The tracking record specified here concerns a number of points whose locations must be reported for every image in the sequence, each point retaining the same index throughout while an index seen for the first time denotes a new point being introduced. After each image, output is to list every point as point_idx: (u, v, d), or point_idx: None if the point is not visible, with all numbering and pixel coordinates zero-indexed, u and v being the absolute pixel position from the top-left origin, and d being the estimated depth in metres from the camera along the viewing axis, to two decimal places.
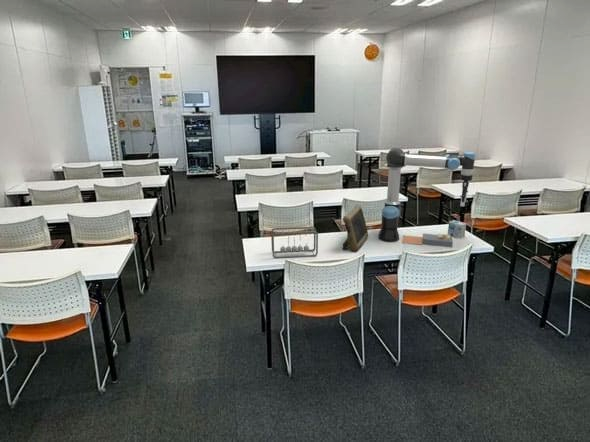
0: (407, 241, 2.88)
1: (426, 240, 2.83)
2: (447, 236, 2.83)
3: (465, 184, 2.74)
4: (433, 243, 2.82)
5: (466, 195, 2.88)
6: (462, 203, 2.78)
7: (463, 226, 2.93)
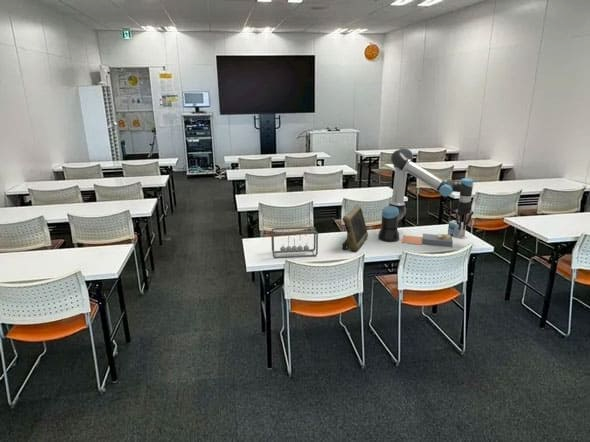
0: (407, 241, 2.88)
1: (426, 240, 2.83)
2: (447, 236, 2.83)
3: (454, 212, 2.77)
4: (433, 243, 2.82)
5: (462, 227, 2.77)
6: (460, 230, 2.80)
7: None
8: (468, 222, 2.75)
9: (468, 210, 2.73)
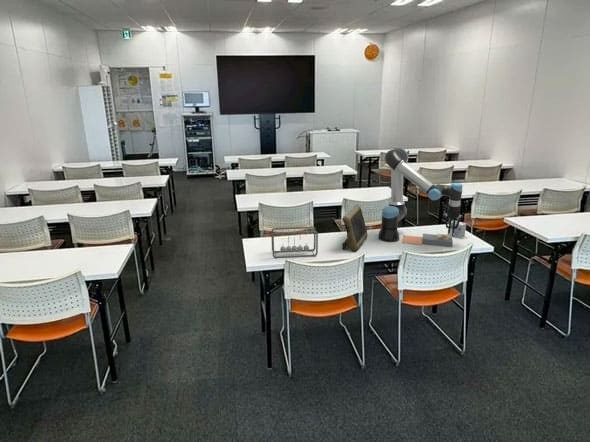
0: (407, 241, 2.88)
1: (426, 240, 2.83)
2: (447, 236, 2.83)
3: None
4: (433, 243, 2.82)
5: (451, 231, 2.81)
6: (449, 234, 2.83)
7: (463, 226, 2.93)
8: (457, 226, 2.78)
9: (457, 214, 2.76)
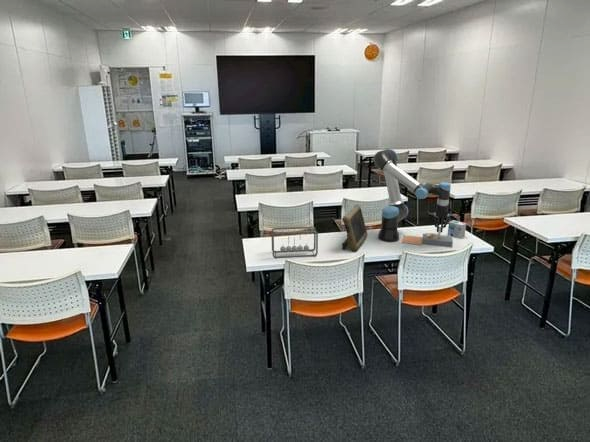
0: (407, 241, 2.88)
1: (426, 240, 2.83)
2: (435, 235, 2.85)
3: (432, 215, 2.82)
4: (433, 243, 2.82)
5: (439, 230, 2.83)
6: (438, 233, 2.85)
7: (463, 226, 2.93)
8: (445, 225, 2.80)
9: (446, 213, 2.78)
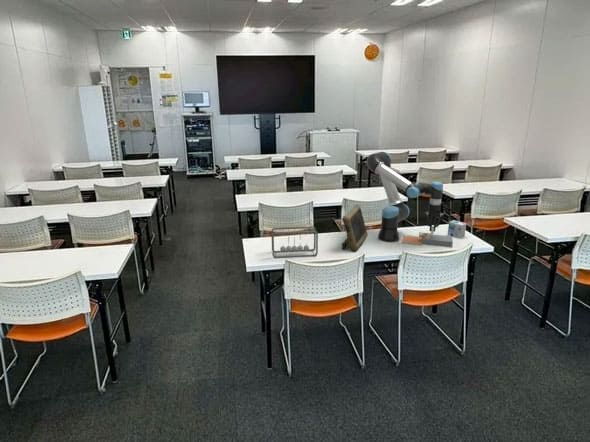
0: (407, 241, 2.88)
1: (426, 240, 2.83)
2: (428, 234, 2.86)
3: (425, 214, 2.83)
4: (433, 243, 2.82)
5: (432, 229, 2.84)
6: None
7: (463, 226, 2.93)
8: (438, 224, 2.82)
9: (438, 213, 2.80)
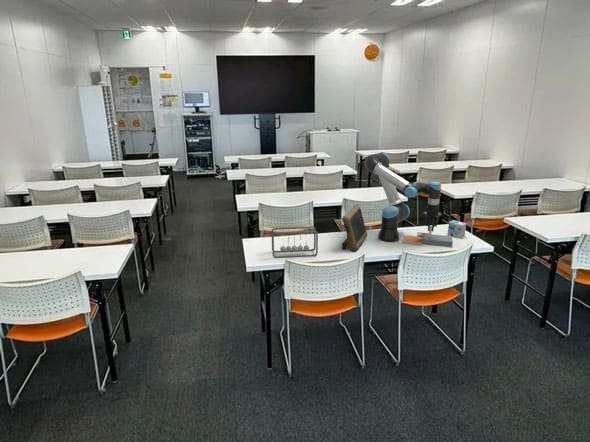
0: (407, 241, 2.88)
1: (426, 240, 2.83)
2: (426, 234, 2.87)
3: (423, 214, 2.84)
4: (433, 243, 2.82)
5: (430, 229, 2.84)
6: (429, 232, 2.87)
7: (463, 226, 2.93)
8: (436, 224, 2.82)
9: (436, 212, 2.80)
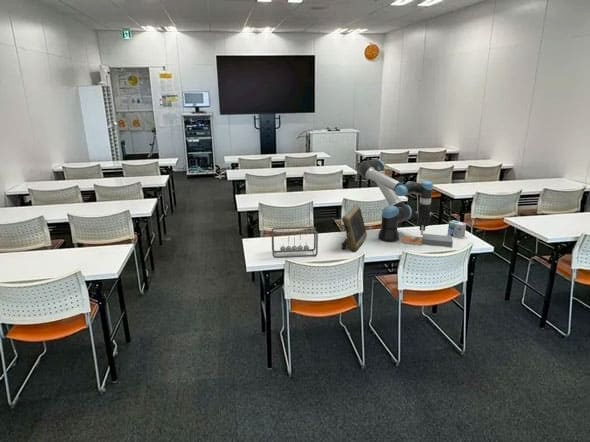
0: (407, 241, 2.88)
1: (426, 240, 2.83)
2: (420, 238, 2.89)
3: (415, 213, 2.85)
4: (433, 243, 2.82)
5: (422, 229, 2.86)
6: None
7: (463, 226, 2.93)
8: (428, 223, 2.84)
9: (428, 212, 2.82)
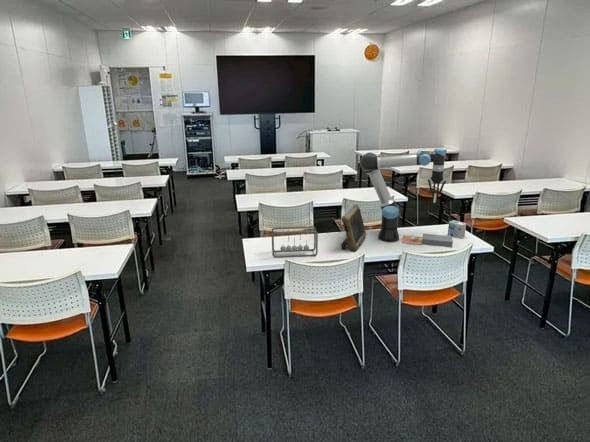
0: (407, 241, 2.88)
1: (426, 240, 2.83)
2: (420, 238, 2.89)
3: None
4: (433, 243, 2.82)
5: (435, 196, 2.89)
6: None
7: (463, 226, 2.93)
8: (441, 191, 2.87)
9: (441, 179, 2.85)
